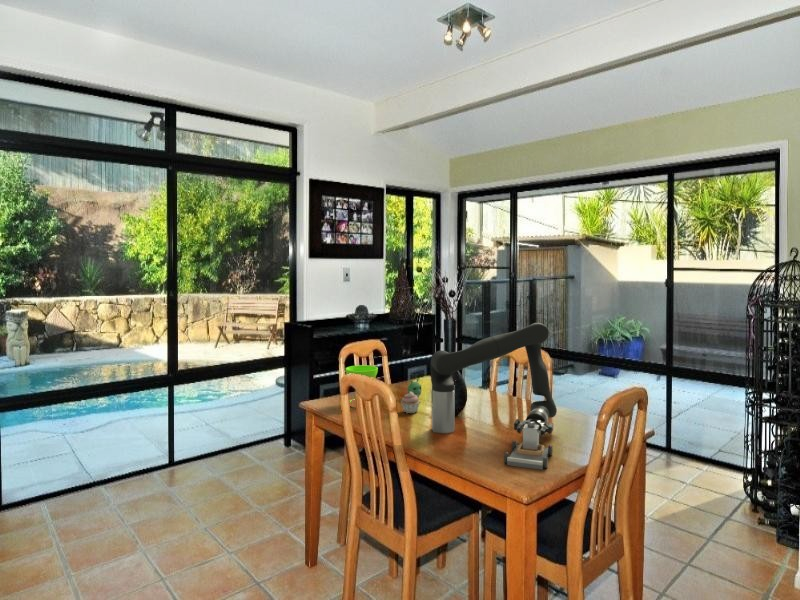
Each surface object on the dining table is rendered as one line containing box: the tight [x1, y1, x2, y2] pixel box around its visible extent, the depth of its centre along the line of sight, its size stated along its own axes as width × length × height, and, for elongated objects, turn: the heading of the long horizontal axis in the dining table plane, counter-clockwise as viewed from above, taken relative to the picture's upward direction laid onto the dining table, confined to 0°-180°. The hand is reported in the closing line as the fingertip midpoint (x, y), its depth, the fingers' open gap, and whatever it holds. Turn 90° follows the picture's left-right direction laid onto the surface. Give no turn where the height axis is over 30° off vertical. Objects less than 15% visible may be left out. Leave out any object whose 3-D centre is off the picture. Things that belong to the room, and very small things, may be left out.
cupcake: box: [400, 391, 421, 414], centre depth 259 cm, size 9×9×10 cm
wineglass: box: [345, 364, 379, 402], centre depth 274 cm, size 16×16×18 cm
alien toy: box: [407, 378, 422, 398], centre depth 285 cm, size 7×8×10 cm
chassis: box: [503, 440, 554, 471], centre depth 197 cm, size 18×14×4 cm
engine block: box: [522, 421, 540, 451], centre depth 201 cm, size 5×5×10 cm
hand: (530, 432), depth 199 cm, fingers open, 7 cm apart
